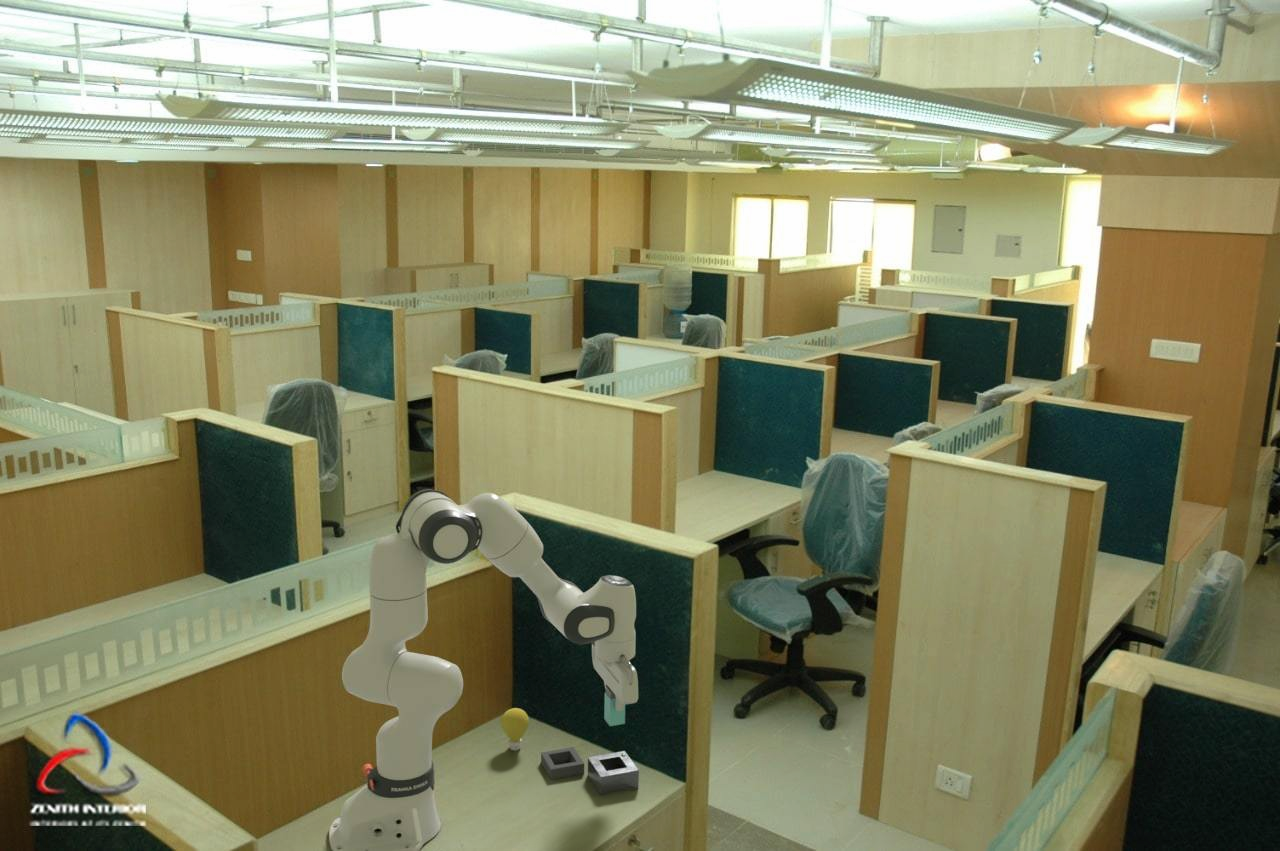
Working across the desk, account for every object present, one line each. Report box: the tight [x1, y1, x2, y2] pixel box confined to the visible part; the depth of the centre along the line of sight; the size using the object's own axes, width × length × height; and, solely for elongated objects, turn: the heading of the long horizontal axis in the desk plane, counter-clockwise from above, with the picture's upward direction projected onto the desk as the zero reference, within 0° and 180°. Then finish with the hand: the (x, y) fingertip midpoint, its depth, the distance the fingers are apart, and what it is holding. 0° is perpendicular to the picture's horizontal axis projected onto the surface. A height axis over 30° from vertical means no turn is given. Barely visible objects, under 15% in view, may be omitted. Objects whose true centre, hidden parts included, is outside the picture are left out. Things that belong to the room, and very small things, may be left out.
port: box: [587, 750, 640, 796], centre depth 239 cm, size 9×9×5 cm
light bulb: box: [500, 707, 530, 751], centre depth 253 cm, size 7×7×10 cm
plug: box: [603, 686, 626, 727], centre depth 236 cm, size 4×4×8 cm
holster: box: [540, 746, 585, 780], centre depth 245 cm, size 8×8×2 cm
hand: (614, 704), depth 236 cm, fingers closed on plug, 4 cm apart
